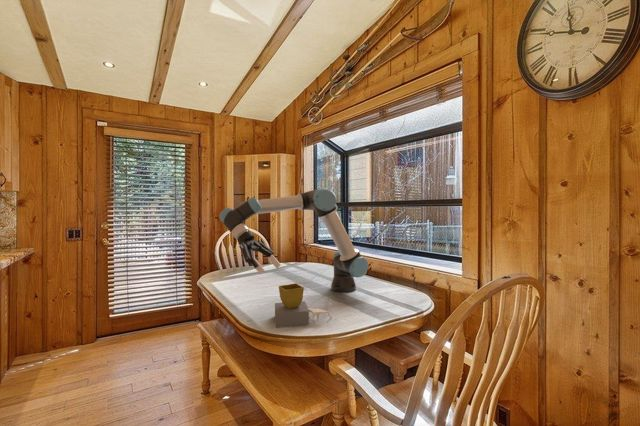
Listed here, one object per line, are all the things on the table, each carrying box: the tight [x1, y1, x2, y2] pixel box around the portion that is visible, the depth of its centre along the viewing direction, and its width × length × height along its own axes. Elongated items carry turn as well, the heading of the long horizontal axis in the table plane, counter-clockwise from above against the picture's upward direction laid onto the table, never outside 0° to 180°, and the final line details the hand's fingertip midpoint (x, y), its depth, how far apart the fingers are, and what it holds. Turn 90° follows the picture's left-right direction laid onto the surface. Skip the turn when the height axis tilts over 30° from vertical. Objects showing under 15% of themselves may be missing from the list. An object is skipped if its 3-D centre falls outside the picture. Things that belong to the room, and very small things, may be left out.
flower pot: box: [278, 283, 304, 309], centre depth 138 cm, size 9×9×9 cm
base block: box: [274, 300, 310, 328], centre depth 137 cm, size 14×14×6 cm
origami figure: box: [308, 308, 333, 325], centre depth 135 cm, size 12×8×5 cm
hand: (271, 269), depth 141 cm, fingers open, 13 cm apart
